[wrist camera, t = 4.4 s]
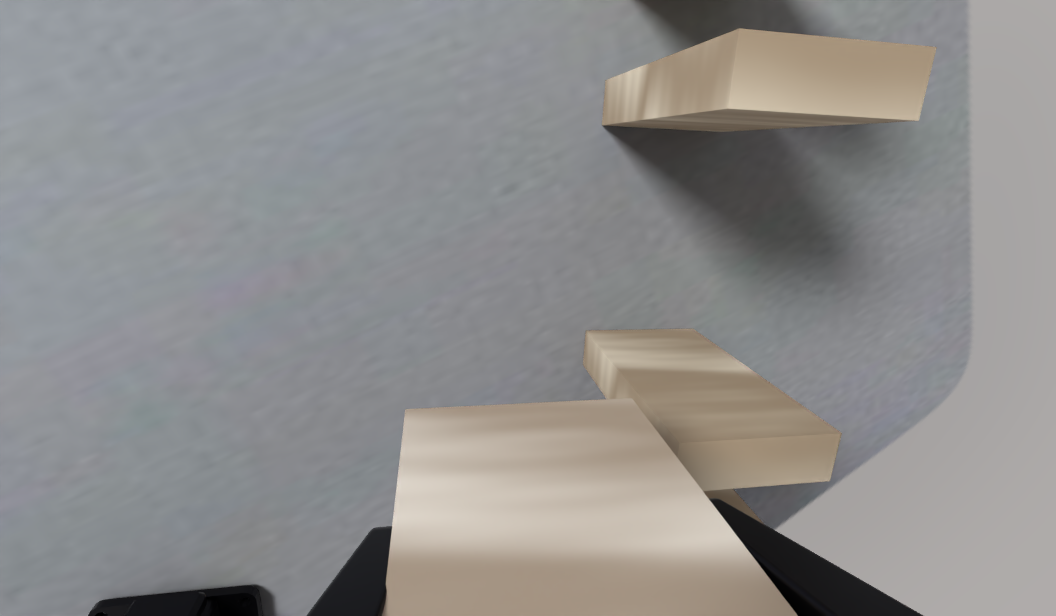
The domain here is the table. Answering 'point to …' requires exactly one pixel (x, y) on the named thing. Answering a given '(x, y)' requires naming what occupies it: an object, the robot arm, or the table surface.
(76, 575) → the table surface
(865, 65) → the domino
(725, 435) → the domino
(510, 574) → the domino
